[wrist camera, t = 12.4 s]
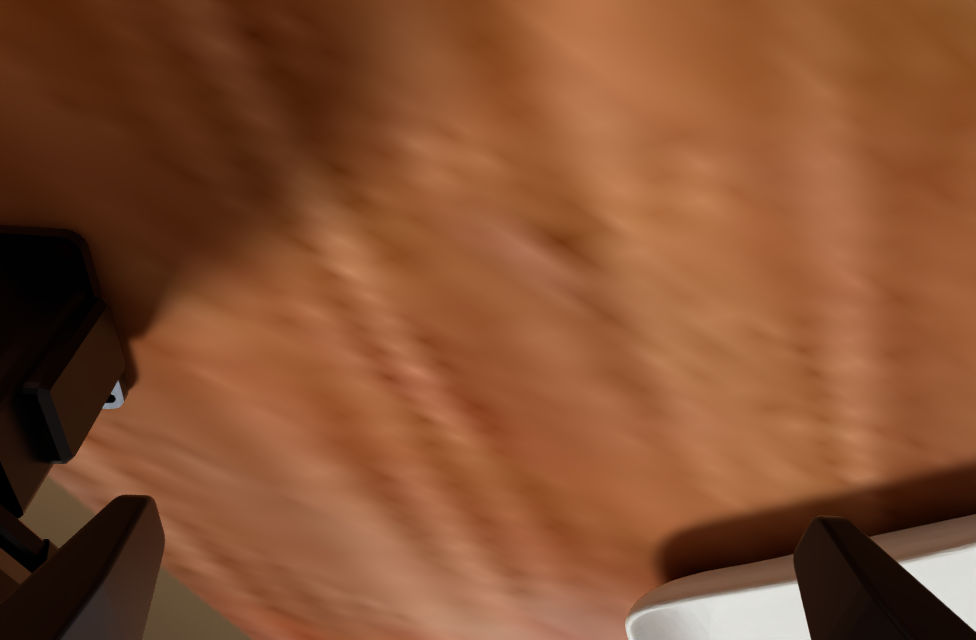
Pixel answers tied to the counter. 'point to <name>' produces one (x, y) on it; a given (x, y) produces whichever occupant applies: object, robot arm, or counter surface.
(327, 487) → the counter surface
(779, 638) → the salad plate
